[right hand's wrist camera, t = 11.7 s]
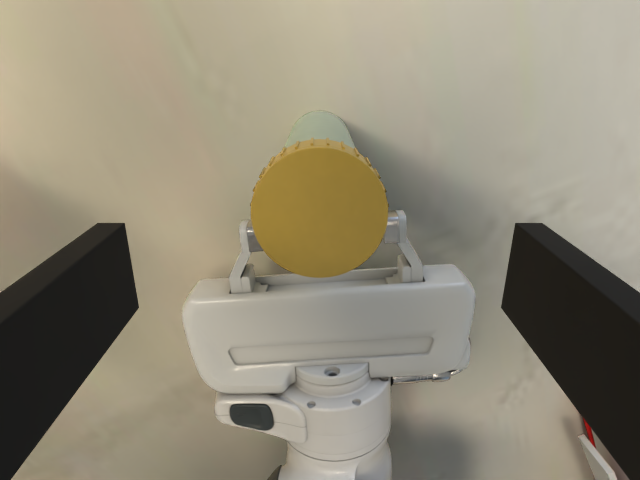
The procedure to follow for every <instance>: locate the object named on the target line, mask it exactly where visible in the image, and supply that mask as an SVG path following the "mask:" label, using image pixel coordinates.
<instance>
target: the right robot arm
mask: <svg viewBox="0 0 640 480" xmlns="http://www.w3.org/2000/svg"><path fill="white" fill-rule="evenodd" d="M138 308H139V305H138V300H137V294H136V288H135V282H134V276H133V270H132V264H131V258H130V252H129V246H128V240H127V234H126V228H125V223H97V224H96V225H95V226H93V227H92V228H90V229H89V230H88V231H86V232H85V233H83V234H82V235H81V236H79V237H78V238H76V239H75V240H74V241H72V242H71V243H69V244H68V245H67V246H65V247H64V248H62V249H61V250H60V251H58V252H57V253H55V254H54V255H53V256H51V257H50V258H48V259H47V260H46V261H44V262H43V263H41V264H40V265H39V266H37V267H36V268H34V269H33V270H32V271H30V272H29V273H27V274H26V275H25V276H23V277H22V278H20V279H19V280H18V281H16V282H15V283H13V284H12V285H11V286H9V287H8V288H6V289H5V290H4V291H2V292H1V293H0V480H11V478H12V477H13V476H14V474H15V473H16V472H17V470H18V469H19V468H20V466H21V465H22V464H23V462H24V461H25V460H26V458H27V457H28V456H29V454H30V453H31V452H32V450H33V449H34V448H35V446H36V445H37V444H38V442H39V441H40V440H41V438H42V437H43V436H44V434H45V433H46V432H47V430H48V429H49V427H50V426H51V425H52V423H53V422H54V421H55V419H56V418H57V417H58V415H59V414H60V413H61V411H62V410H63V409H64V407H65V406H66V405H67V403H68V402H69V401H70V399H71V398H72V397H73V395H74V394H75V393H76V391H77V390H78V389H79V387H80V386H81V385H82V383H83V382H84V381H85V379H86V378H87V376H88V375H89V374H90V372H91V371H92V370H93V368H94V367H95V366H96V364H97V363H98V362H99V360H100V359H101V358H102V356H103V355H104V354H105V352H106V351H107V350H108V348H109V347H110V346H111V344H112V343H113V342H114V340H115V339H116V338H117V336H118V335H119V334H120V332H121V331H122V330H123V328H124V327H125V325H126V324H127V323H128V321H129V320H130V319H131V317H132V316H133V315H134V313H135V312H136V311H137V309H138ZM501 308H502V309H503V311H504V312H505V313H506V315H507V316H508V317H509V319H510V320H511V321H512V323H513V324H514V325H515V327H516V328H517V330H518V331H519V332H520V334H521V335H522V336H523V338H524V339H525V340H526V342H527V343H528V344H529V346H530V347H531V348H532V350H533V351H534V352H535V354H536V355H537V356H538V358H539V359H540V360H541V362H542V363H543V364H544V366H545V367H546V368H547V370H548V371H549V372H550V374H551V375H552V376H553V378H554V379H555V381H556V382H557V383H558V385H559V386H560V387H561V389H562V390H563V391H564V393H565V394H566V395H567V397H568V398H569V399H570V401H571V402H572V403H573V405H574V406H575V407H576V409H577V410H578V411H579V413H580V414H581V415H582V417H583V418H584V419H585V421H586V422H587V423H588V425H589V426H590V427H591V429H592V430H593V432H594V433H595V434H596V436H597V437H598V438H599V440H600V441H601V442H602V444H603V445H604V446H605V448H606V449H607V450H608V452H609V453H610V454H611V456H612V457H613V458H614V460H615V461H616V462H617V464H618V465H619V466H620V468H621V469H622V470H623V472H624V473H625V474H626V476H627V477H628V478H629V480H640V293H639V292H638V291H636V290H635V289H634V288H632V287H631V286H629V285H628V284H627V283H625V282H624V281H622V280H621V279H620V278H618V277H617V276H615V275H614V274H613V273H611V272H610V271H608V270H607V269H606V268H604V267H603V266H601V265H600V264H599V263H597V262H596V261H594V260H593V259H592V258H590V257H589V256H587V255H586V254H585V253H583V252H582V251H580V250H579V249H578V248H576V247H575V246H573V245H572V244H571V243H569V242H568V241H566V240H565V239H564V238H562V237H561V236H559V235H558V234H557V233H555V232H554V231H552V230H551V229H550V228H548V227H547V226H545V225H544V224H543V223H515V228H514V234H513V240H512V246H511V252H510V258H509V264H508V270H507V276H506V282H505V288H504V294H503V300H502V305H501Z"/></svg>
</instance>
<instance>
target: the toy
mask: <svg viewBox="0 0 640 480" xmlns="http://www.w3.org/2000/svg"><path fill="white" fill-rule="evenodd" d="M583 420H584V423H585V427H586V430H587V433H588V437H589V440H590V441H589V440H588V439H587V437H586V436H585V435H584V434H583V435H580V436H578V438H579V440H580V443H581V445H582V448H583V450H584V453H585V455H586V458H587V460H588V463H589V465H590V468H591V470H592V473H593V475H594V478H595V480H629V478H628V477H627V476H626V474H625V473H624V472H623V470H622V469H621V468H620V466H619V465H618V464H617V462H616V461H615V460H614V458H613V457H612V456H611V454H610V453H609V452H608V450H607V449H606V448H605V446H604V445H603V444H602V442H601V441H600V440H599V438H598V437H597V436H596V434H595V433H594V432H593V430H592V429H591V427H590V426H589V425H588V423H587V422H586V421H585V419H584V418H583Z"/></svg>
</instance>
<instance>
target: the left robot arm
mask: <svg viewBox="0 0 640 480" xmlns="http://www.w3.org/2000/svg"><path fill="white" fill-rule="evenodd" d="M239 235H240V243H241V251H240V253H239V255H238V257H237V260H236V262H235V264H234V266H233V269H232V271H231V273H230V276H229V277H228V278H211V279H202V280H200V281H198V282H197V284H196V285H195V286H194V287H193V289H192V290H191V291H190V293H189V294H188V296H187V298H186V300H185V302H184V304H183V307H182V321H183V326H184V331H185V335H186V338H187V342H188V345H189V349H190V352H191V355H192V358H193V360H194V363H195V366H196V368H197V371H198V373H199V375H200V376H201V378H202V379H203V381H204V382H205V383H206V384H207V385H208V386H209V387H210V388H212V389H214V390H216V397H215V406H214V410H215V415H216V418H217V420H218V421H219V422H221V423H223V424H226V425H230V426H235V427H240V428H245V429H250V430H254V431H259V432H263V433H266V434H270V435H273V436H276V437H279V438H282V439H285V440H286V442H287V445H288V450H287V457H286V464H285V465H284V466H282V465H280V466H279V467H278V468H277V469H276V470H275V471H274V472H273V473H272V475H271V476H270V477H269V478H268V480H391V479H392V458H391V452H390V448H389V445H388V442H387V439H388V436H389V433H390V429H391V386H392V384H410V383H417V382H422V381H432V382H442V381H447V380H449V379H450V376H452V375H455V374H457V373H459V372H461V371H462V370H463V369H465V368H467V366H468V364H469V361H470V347H471V342H470V338H469V334H470V330H471V326H472V321H473V315H474V308H475V300H476V295H475V291H474V288H473V286H472V284H471V282H470V281H469V279H468V278H467V277H466V276H465V274H464V273H463V272H462V271H461V270H460V269H459V268H458V267H456V266H455V265H453V264H438V265H423V264H422V262H421V260H420V258H419V257H418V255H417V253H416V251H415V250H414V248H413V246H412V245H411V243H410V242H409V240H408V239H407V220H406V215H405V213H404V211H403V210H393V211H388V222H387V227H386V231H385V234H384V236H383V240H384V243H397V244H398V246H399V248H400V249H401V251H402V252H403V255H398V261H397V267H390V268H373V269H357V270H351V271H349V272H347V273H344V274H341V275H338V276H333V277H327V278H312V277H306V276H301V275H298V274H295V273H293V274H277V275H260V276H255V273H254V266H253V265H252V264H247V265H246V263H247V261H248V259H249V257H250V255H251V252H256V251H264V250H263V249H262V247H261V246H260V244H259V242H258V241H257V238H256V236H255V234H254V230H253V227H252V221H251V220H242V221H241V223H240V225H239ZM245 265H246V266H245Z"/></svg>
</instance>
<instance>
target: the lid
mask: <svg viewBox="0 0 640 480" xmlns="http://www.w3.org/2000/svg"><path fill="white" fill-rule="evenodd" d="M259 178H260V180H258V181H257V183H256V185H255V187H254V189H253V192H254V195H253V198H252V202H251V204H250V206H251V221H252V227H253V230H254V234H255V236H256V238H257V241H258V242H259V244H260V246H261V247H262V249H263V250H264V251H265V253H266V254H267V255H268V256H269V257H270V258H271V259H272V260H273V261H274V262H275V263H277V264H278V265H279V266H281V267H283V268H284V269H286V270H288V271H290V272H292V273H295V274H298V275H301V276H306V277H312V278H327V277H333V276H338V275H341V274H344V273H347V272H349V271H351V270H353V269H355V268H357V267H358V266H360V265H361V264H362V263H364V262H365V261H366V260H367V259H368V258H369V257H370V256H371V255H372V254H373V253H374V252H375V250H376V249H377V248H378V246H379V244H380V243H381V241H382V239H383V236H384V234H385V231H386V227H387V222H388V207H389V204H388V202H387V198H386V194H385V192H386V189H385V187H384V185H383V184H382V182H381V181H380V180H379V179H380V176H379V174H378V172H377V170H376V168H375V169H373V167H372V165H371V163H370V161H369V159H368V158H367V157H363V156H362V155H361V154H360V153H359V152H358V150H357V148H354V149H353V148H352V147H350V146H347V145H345V144H344V142H343V141H341V143H340V142H337V141H333V140H329V138H326V139H314V138H311V140H306V141H302V142H299V141H296V144H293V145H292V146H290V147H288V148H286V147H284V148H283V149H282V152H280V153H279V154H278V155H277V156H276V157H274V156H273V157H272V158H271V160H270V162H269V164H268V166H267V168H265V167H264V169H263V170H262V172H261V174H260V176H259Z"/></svg>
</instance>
